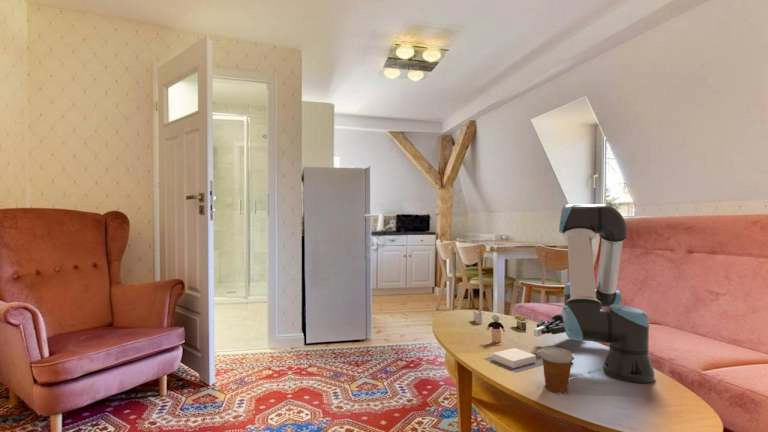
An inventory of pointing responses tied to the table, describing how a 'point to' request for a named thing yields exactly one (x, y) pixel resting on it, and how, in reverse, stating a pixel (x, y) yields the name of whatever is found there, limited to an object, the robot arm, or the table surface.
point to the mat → (518, 369)
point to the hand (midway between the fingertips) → (535, 332)
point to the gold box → (521, 322)
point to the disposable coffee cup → (556, 368)
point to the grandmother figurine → (496, 328)
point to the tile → (514, 357)
